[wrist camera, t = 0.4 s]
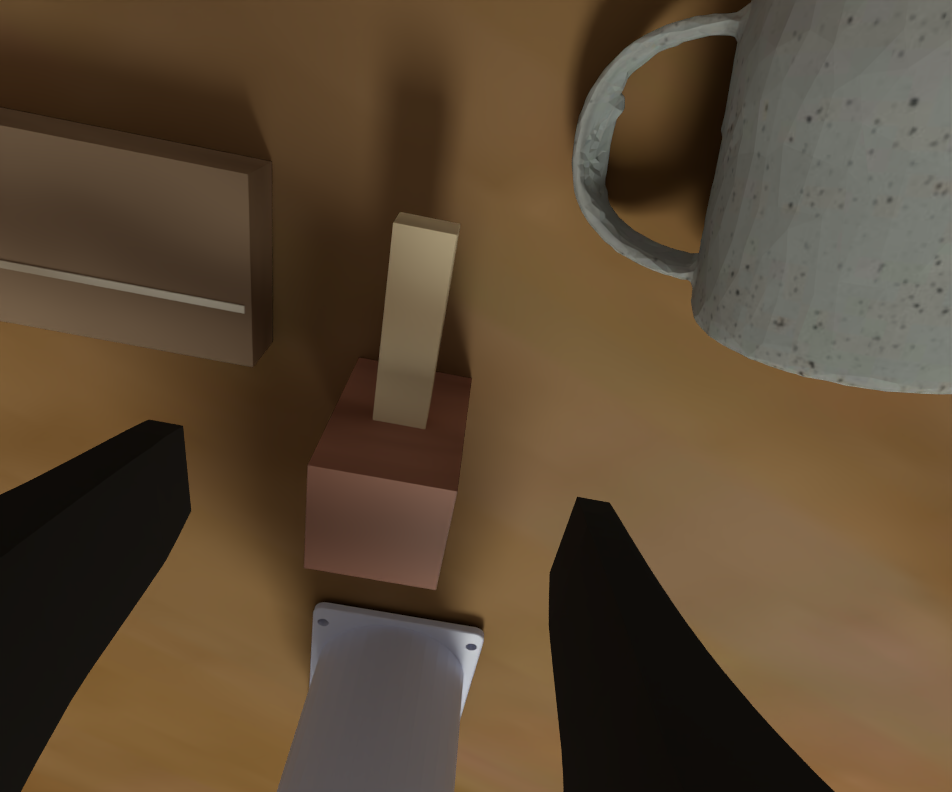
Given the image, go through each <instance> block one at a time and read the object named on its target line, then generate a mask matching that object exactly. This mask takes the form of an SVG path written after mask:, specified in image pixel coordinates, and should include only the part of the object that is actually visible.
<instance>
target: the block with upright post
mask: <svg viewBox="0 0 952 792" xmlns="http://www.w3.org/2000/svg"><path fill="white" fill-rule="evenodd" d="M459 230H460V224H459V223H454V222H449V221H444V220H439V219H434V218H429V217H424V216H419V215H414V214H409V213H404V212H400V213H399V214H398V216H397V217H396V219H395V221H394V222H393V230H392V239H391V249H390V258H389V268H388V277H387V287H386V296H385V306H384V315H383V325H382V334H381V344H380V353H379V361H376V360H370V359H365V358H360V357H359V359H358V361H357V363H356V365H355V367H354V369H353V371H352V373H351V375H350V377H349V379H348V382H347V384H346V386H345V388H344V390H343V392H342V394H341V396H340V398H339V400H338V403H337V405H336V407H335V409H334V411H333V413H332V415H331V417H330V419H329V421H328V424H327V426H326V428H325V430H324V432H323V434H322V436H321V438H320V440H319V442H318V444H317V447H316V449H315V451H314V453H313V455H312V457H311V459H310V461H309V463H308V469H307V497H306V526H305V554H304V568H307V569H313V570H319V571H325V572H331V573H337V574H343V575H349V576H355V577H361V578H367V579H372V580H378V581H384V582H390V583H396V584H402V585H408V586H414V587H420V588H426V589H432V590H436V588H437V583H438V579H439V574H440V570H441V565H442V560H443V556H444V551H445V546H446V542H447V537H448V533H449V528H450V523H451V519H452V514H453V510H454V505H455V500H456V496H457V491H458V483H459V475H460V467H461V459H462V451H463V443H464V436H465V428H466V420H467V412H468V404H469V396H470V388H471V380H472V378H467V377H462V376H456V375H451V374H446V373H440V372H436V368H437V362H438V356H439V350H440V344H441V338H442V332H443V326H444V320H445V314H446V308H447V302H448V296H449V290H450V284H451V278H452V272H453V266H454V260H455V254H456V248H457V242H458V236H459Z"/></svg>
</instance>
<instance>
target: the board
mask: <svg viewBox="0 0 952 792" xmlns="http://www.w3.org/2000/svg"><path fill="white" fill-rule="evenodd" d="M0 321H4V322H9V323H15V324H20V325H25V326H31V327H36V328H42V329H47V330H53V331H58V332H64V333H69V334H74V335H80V336H85V337H91V338H96V339H102V340H107V341H112V342H118V343H123V344H129V345H134V346H140V347H145V348H151V349H156V350H161V351H167V352H172V353H178V354H183V355H189V356H194V357H199V358H205V359H210V360H216V361H221V362H227V363H232V364H238V365H243V366H248V367H254V365H255V364H256V363H257V362H258V360H259V359H260V358H261V356H262V355H263V354H264V353H265V351H266V350H267V349H268V347H269V346H270V345H271V344H272V342H273V300H272V161H267V160H262V159H257V158H252V157H247V156H242V155H237V154H232V153H227V152H222V151H217V150H212V149H207V148H202V147H197V146H192V145H187V144H182V143H177V142H172V141H167V140H162V139H157V138H152V137H147V136H142V135H137V134H132V133H127V132H122V131H117V130H112V129H107V128H102V127H97V126H92V125H87V124H82V123H77V122H72V121H67V120H62V119H57V118H52V117H47V116H42V115H37V114H32V113H27V112H22V111H17V110H12V109H7V108H2V107H0Z"/></svg>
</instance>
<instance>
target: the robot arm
mask: <svg viewBox="0 0 952 792" xmlns="http://www.w3.org/2000/svg"><path fill="white" fill-rule="evenodd" d="M190 512H191V504H190V494H189V483H188V473H187V462H186V452H185V442H184V431H183V426H181V425H176V424H170V423H165V422H159V421H153V420H147V421H145V422H143V423H141V424H138V425H136V426H134V427H132V428H130V429H128V430H126V431H124V432H122V433H120V434H119V435H117V436H115V437H113V438H111V439H109V440H107V441H105V442H103V443H101V444H100V445H98V446H96V447H94V448H92V449H90V450H88V451H86V452H84V453H82V454H81V455H79V456H77V457H75V458H73V459H71V460H69V461H67V462H65V463H63V464H61V465H59V466H57V467H55V468H53V469H52V470H50V471H48V472H46V473H44V474H42V475H40V476H38V477H36V478H34V479H32V480H30V481H28V482H26V483H24V484H22V485H20V486H18V487H16V488H14V489H11V490H9V491H7V492H5V493H3V494H1V495H0V792H21V790H22V788H23V786H24V785H25V783H26V781H27V779H28V777H29V775H30V773H31V771H32V770H33V768H34V766H35V764H36V762H37V760H38V758H39V757H40V755H41V753H42V751H43V750H44V748H45V746H46V744H47V742H48V741H49V739H50V737H51V735H52V733H53V732H54V730H55V728H56V726H57V725H58V723H59V721H60V719H61V717H62V716H63V714H64V712H65V710H66V709H67V707H68V705H69V703H70V702H71V700H72V698H73V697H74V695H75V694H76V692H77V690H78V689H79V687H80V686H81V684H82V683H83V681H84V679H85V678H86V676H87V675H88V673H89V672H90V670H91V669H92V667H93V666H94V664H95V663H96V662H97V660H98V659H99V657H100V656H101V654H102V653H103V651H104V650H105V649H106V647H107V646H108V644H109V643H110V641H111V640H112V638H113V637H114V636H115V634H116V633H117V631H118V630H119V628H120V627H121V625H122V624H123V623H124V621H125V620H126V618H127V617H128V615H129V614H130V612H131V611H132V610H133V608H134V607H135V605H136V604H137V602H138V601H139V599H140V598H141V597H142V595H143V594H144V592H145V591H146V589H147V588H148V586H149V585H150V583H151V582H152V580H153V579H154V577H155V576H156V574H157V573H158V571H159V570H160V568H161V567H162V565H163V564H164V562H165V561H166V559H167V557H168V555H169V553H170V552H171V550H172V548H173V546H174V544H175V542H176V540H177V538H178V536H179V534H180V532H181V530H182V528H183V526H184V524H185V522H186V520H187V518H188V516H189V514H190ZM549 633H550V643H551V653H552V663H553V673H554V683H555V692H556V702H557V711H558V721H559V730H560V740H561V749H562V765H563V786H564V792H834V791H833V790H832V789H831V788H830V787H829V786H828V785H827V784H826V783H825V782H824V781H823V780H822V779H821V778H820V777H819V776H818V775H817V774H816V773H815V772H814V771H813V770H812V769H811V768H810V767H809V766H808V765H807V764H806V763H805V762H804V761H803V760H802V759H801V757H800V756H799V755H798V754H797V753H796V752H795V751H794V750H793V749H792V748H791V747H790V746H789V745H788V744H787V743H786V742H785V741H784V740H783V739H782V738H781V737H780V736H779V735H778V733H777V732H776V731H775V730H774V729H773V728H772V727H771V726H770V725H769V724H768V723H767V721H766V720H765V719H764V718H763V717H762V716H761V715H760V714H759V713H758V711H757V710H756V709H755V708H754V707H753V706H752V704H751V703H750V702H749V701H748V700H747V699H746V697H745V696H744V695H743V694H742V693H741V692H740V690H739V689H738V688H737V687H736V686H735V684H734V683H733V682H732V681H731V680H730V679H729V677H728V676H727V675H726V674H725V673H724V671H723V670H722V669H721V668H720V666H719V665H718V664H717V663H716V661H715V660H714V659H713V658H712V656H711V655H710V654H709V652H708V651H707V650H706V648H705V647H704V646H703V644H702V643H701V642H700V640H699V639H698V638H697V636H696V635H695V634H694V632H693V631H692V630H691V628H690V627H689V626H688V624H687V623H686V621H685V620H684V619H683V617H682V616H681V614H680V613H679V611H678V610H677V609H676V607H675V606H674V604H673V603H672V601H671V600H670V598H669V597H668V595H667V594H666V592H665V591H664V589H663V588H662V586H661V585H660V583H659V582H658V580H657V579H656V577H655V575H654V574H653V572H652V571H651V569H650V568H649V566H648V564H647V563H646V561H645V560H644V558H643V556H642V555H641V553H640V552H639V550H638V548H637V547H636V545H635V543H634V542H633V540H632V538H631V537H630V535H629V533H628V532H627V530H626V529H625V527H624V525H623V524H622V522H621V520H620V519H619V517H618V515H617V514H616V512H615V510H614V509H613V507H612V506H611V504H610V503H609V502H603V501H597V500H592V499H586V498H581V497H577V499H576V502H575V504H574V507H573V510H572V513H571V516H570V518H569V521H568V524H567V527H566V529H565V532H564V535H563V538H562V540H561V543H560V546H559V549H558V552H557V554H556V557H555V560H554V563H553V565H552V568H551V571H550V582H549ZM483 642H484V632H483V631H482V630H481V629H479V628H477V627H472V626H466V625H460V624H454V623H448V622H442V621H436V620H430V619H424V618H418V617H412V616H406V615H400V614H394V613H388V612H382V611H376V610H370V609H364V608H358V607H352V606H346V605H340V604H334V603H328V602H321V603H318V604H317V605H316V606H315V609H314V612H313V625H312V645H311V665H310V685H309V691H308V694H307V697H306V700H305V704H304V707H303V710H302V713H301V716H300V720H299V723H298V726H297V729H296V732H295V735H294V739H293V742H292V745H291V748H290V751H289V755H288V758H287V761H286V764H285V767H284V770H283V774H282V777H281V780H280V783H279V786H278V790H277V792H454V786H455V774H456V762H457V750H458V738H459V725H460V718H461V715H462V711H463V708H464V705H465V701H466V698H467V695H468V691H469V688H470V685H471V682H472V678H473V675H474V672H475V668H476V665H477V662H478V658H479V655H480V652H481V649H482V645H483Z"/></svg>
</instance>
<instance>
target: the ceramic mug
mask: <svg viewBox="0 0 952 792" xmlns="http://www.w3.org/2000/svg"><path fill="white" fill-rule="evenodd" d="M710 35H729V36H733V37H735V38H736V40H737V42H738V43H737V48H736V53H735V58H734V63H733V71H732V76H731V82H730V87H729V93H728V99H727V105H726V111H725V115H724V119H723V124H722V128H721V133H722V142H721V146H720V151H719V156H718V161H717V167H716V172H715V177H714V181H713V184H712V189H711V194H710V198H709V203H708V208H707V212H706V217H705V225H704V230H703V234H702V239H701V246H700V251H699V253H688V252H684V251H680V250H676V249H673V248H670V247H667V246H664V245H661V244H659V243H656V242H654V241H652V240H651V239H649V238H647V237H645V236H643V235H642V234H640V233H638V232H636V231H634V230H633V229H632V228H631V227H630V226H628V225H627V224H626V223H625V222H624V221H623V220H622V219H620V218H619V217H618V215H617V214H616V213H615V211H614V210H613V208H612V207H611V205H610V203H609V200H608V191H607V189H606V186H605V178H606V174H607V167H608V160H609V153H610V144H611V139H612V135H613V131H614V127H615V124H616V120H617V118H618V117H619V115H620V114H621V113H622V112H623V110H624V108H625V98H624V96H623V94H622V93H621V92H622V91H623V89H624V87H625V84H626V82H627V79H628V78H629V76H630V75H631V74H632V73H633V72H634V71H635V70H637V69H638V68H639V67H641V66H642V65H643V64H645V63H646V62H647V61H648V60H649V59H651V58H652V57H653V56H654V55H655V54H657V53H658V52H660V51H662V50H665V49H667V48H671V47H675V46H677V45H679V44H681V43H682V42H685V41H690V40H694V39H698V38H702V37H706V36H710ZM572 172H573V182H574V191H575V196H576V199H577V201H578V204H579V206H580V208H581V211H582V213H583V214H584V216H585V218H586V219H587V221H588V222H589V224H590V225H591V226H592V227H593V229H594V230H595V231H596V232H597V233H598V234H599V235H600V236H601V238H602V239H603V240H604V241H605V242H606V243H608V244H609V245H610V246H612V247H613V248H614V250H615V251H617V252H618V253H620V254H622V255H624V256H626V257H627V258H629V259H631V260H633V261H634V262H636V263H638V264H640V265H642V266H644V267H647V268H649V269H651V270H654V271H657V272H659V273H662V274H665V275H670V276H673V277H676V278H679V279H684V280H689V281H690V282H691V284H692V287H693V290H692V299H691V303H692V310H693V315H694V318H695V320H696V322H697V324H698V325H699V326H700V327H701V328H702V329H703V330H704V331H705V332H706V333H707V334H708V335H709V336H710V337H712V338H713V339H715V340H716V341H718V342H719V343H721V344H722V345H724V346H726V347H728V348H730V349H732V350H734V351H736V352H738V353H740V354H742V355H744V356H745V357H747V358H749V359H752V360H756V361H759V362H761V363H764V364H766V365H768V366H771V367H774V368H777V369H781V370H784V371H787V372H790V373H794V374H798V375H800V376H803V377H809V378H815V379H820V380H826V381H831V382H835V383H838V384H842V385H847V386H854V387H860V388H867V389H874V390H881V391H890V392H906V393H922V394H952V0H752V1H751V3H749V4H748V5H747V6H745V7H744V8H742V9H741V10H740V11H738V12H735V13H728V14H710V15H703V16H695V17H691V18H688V19H684V20H681V21H677V22H674V23H671V24H668V25H665V26H663V27H661V28H659V29H656V30H654V31H652V32H650V33H648V34H646V35H644V36H642V37H641V38H639V39H637V40H636V41H634V42H633V43H631V44H630V45H629V46H627V47H626V48H625V49H624V50H623V51H622V52H621V53H620V54H619V55H618V56H617V57H616V58H615V59H614V60H613V61H612V62H611V63H610V64H609V65H608V66H607V67H606V68H605V69H604V70H603V72H602V73H601V75H600V76H599V78H598V79H597V81H596V82H595V84H594V85H593V87H592V88H591V90H590V92H589V93H588V95H587V97H586V99H585V102H584V106H583V109H582V111H581V113H580V115H579V119H578V124H577V128H576V133H575V140H574V148H573V157H572Z"/></svg>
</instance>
